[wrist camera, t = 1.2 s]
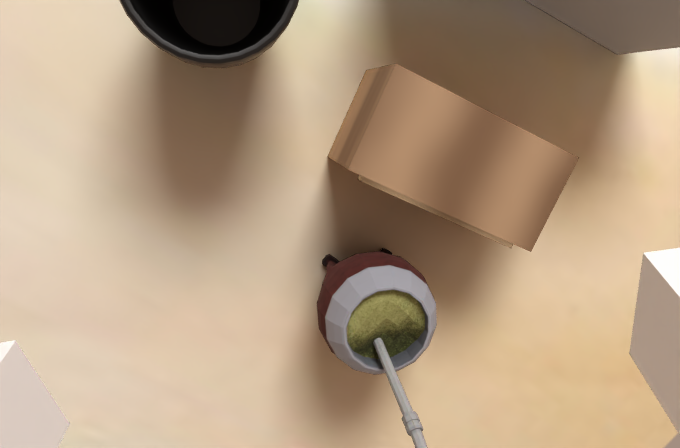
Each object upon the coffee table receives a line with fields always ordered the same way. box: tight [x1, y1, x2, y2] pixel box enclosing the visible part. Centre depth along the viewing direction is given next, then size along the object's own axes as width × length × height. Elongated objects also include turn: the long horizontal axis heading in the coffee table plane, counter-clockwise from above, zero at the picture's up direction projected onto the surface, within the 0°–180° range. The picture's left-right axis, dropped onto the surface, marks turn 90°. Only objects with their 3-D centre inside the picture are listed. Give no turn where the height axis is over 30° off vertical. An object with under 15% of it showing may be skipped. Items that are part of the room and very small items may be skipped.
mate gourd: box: [317, 248, 437, 448], centre depth 31 cm, size 8×8×15 cm
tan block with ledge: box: [328, 64, 579, 252], centre depth 34 cm, size 12×6×7 cm, turn 66°
